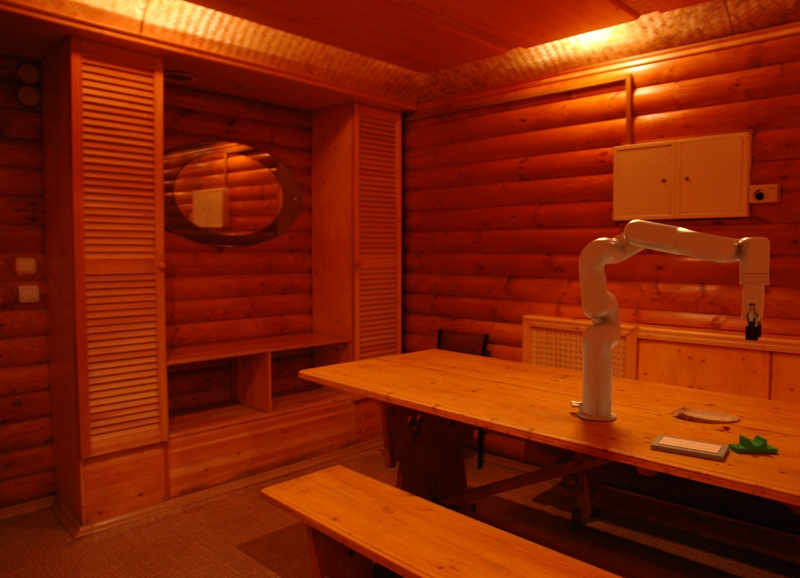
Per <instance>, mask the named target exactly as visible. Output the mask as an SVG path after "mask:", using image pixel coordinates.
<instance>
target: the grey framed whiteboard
mask: <svg viewBox="0 0 800 578" xmlns="http://www.w3.org/2000/svg"><path fill="white" fill-rule="evenodd" d="M650 450H655V451H661V452H667V453H674V454H679V455H685V456H692V457H695V458H696V457H697V458H701V459H702V458H703V459H708V460H713V461H717V462H718V461H719V462H723V461H724V460H725V458H726V456H727V454H728V452H729V450H730V448H729V445H726V444H719V443H714V442H707V441H701V440H700V441H699V440H694V439H689V438H684V437H683V438H682V437H676V436H670V435H663V434H659V435H658V437H657V438H656V439H655V440H654V441H653V442H652V443H651V444H650Z"/></svg>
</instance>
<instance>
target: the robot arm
mask: <svg viewBox="0 0 800 578" xmlns="http://www.w3.org/2000/svg"><path fill="white" fill-rule="evenodd" d="M645 249H647V250H652V251H658V252H663V253H667V254H671V255H678V256H679V255H680V256H687V257H691V258H697V259H701V260H705V261H711V262H715V263H723V264H726V263H727V264H728V263H729V264H730V263H736V262H739V275H738V276H739V279H738V281H739V285H740V286H742V295H741V296H742V298H741V316H740V317H741V319H742V320H745V319H746V323H745V329H744V330H745V331H744V332H745V334H744V335H745V338H744V339H745V341H753V342H756V341H759V338H762V322H761V321H762V320H761V319H762V318H763V317H764V309H765V286H770V266H771V265H770V261H771V260H770V259H771V258H770V255H771V252H770V251H771V243H770V240H769V238H768V237H764V236H749V237H743V238H733V237H728V236H724V235H723V236H722V235H716V234H710V233H705V232H699V231H694V230H691V229H690V230H689V229H688V228H685V227H682V226H676V225H672V224H671V225H670V224H665V223H659V222H654V221H648V220H643V219H633V220H631V221H629V222H627V224H626V225H625V227H624V229H623V232H622V233H620V234H618V235H616V236H614V237H612V238H609V237H600V238H597V239H595V240H592V241H591V242H589V243H588V244H586V246H585V247H584V248H583V249H582V251H581V253H580V255H579V258H578V273H579V274H578V276H579V288H580V298H581V299H580V300H581V301H580V303H581V309H582V312H583V314H584V315H585V316H586V317H587V318H589V319H591V322H592V324H589V325H588V326H586V328H584V330H583V331H582V334H581V340H580V342H581V344H580V345H581V350H582V351H581V352H582V391H581V393H582V395H581V398H582V399H581V401H579V402H578V401H574V400H571V401H570V403H569V405H570V407H571V408H572V409H573V408H574V409H578V410H577V412H576V414H577V416H578V417H579V418H582V419H585V420H589V421H595V422H596V421H597V422H607V421H608V422H609V421H610V422H611V421H614V420H616V419H617V414H616V412H613V407H612V405H613V366H614V365H613V354H612V348H614V347H616V346H617V345H618V344H619V343H620V341H621V338H622V328H621V317H620V307H619V301H618V299H617V297H616V296H615V294H613V293H612V292H611V291H608V287H607V277H606V276H607V275H606V271H605V265H606V264H608V265H609V264H611V265H616V264H619V263H620V262H623V261H625V260H627V259H628V258H631V257H632V256H634V255H636V254H637V253H640V252H641V251H643V250H645Z"/></svg>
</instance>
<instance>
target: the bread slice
mask: <svg viewBox="0 0 800 578" xmlns="http://www.w3.org/2000/svg"><path fill="white" fill-rule="evenodd" d="M670 415H671V416H672V417H673V418H674V419H678V420H681V421H686V422H694V423H704V424H711V423H712V425H713V423H714V424H715V423H716V424H725V423H726V424H735V423H736V424H737V423H740V421H741V418H740V417H739V416H737V415H736V414H733V413H727V412H720V411H715V410H707V409H699V408H690V407H685V406H684V407H681V408H680V407H679V408H677V409H674V410H673V411H671V412H670Z"/></svg>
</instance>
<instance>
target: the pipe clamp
mask: <svg viewBox="0 0 800 578" xmlns="http://www.w3.org/2000/svg"><path fill="white" fill-rule="evenodd" d="M738 435H739V437H738V439H739V440H738V443H728V446H729V450H731V451H733V452H736V453H756V454H758V453H759V454H760V453H761V454H762V453H763V454H767V453H768V454H778V453H779V449H778V448H777V447H774V446H773V445H771V444H770V443H768V439H767V438H765V437H763V436H762V435H759V434H755V435H754V438H753V439H751V438H749V437H747V436H745V435H744V434H738Z"/></svg>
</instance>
